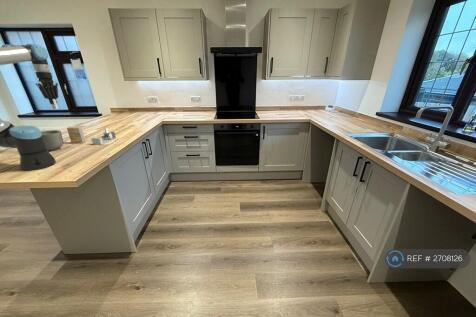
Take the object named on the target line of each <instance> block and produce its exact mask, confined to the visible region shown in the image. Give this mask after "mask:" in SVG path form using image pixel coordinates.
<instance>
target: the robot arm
mask: <svg viewBox="0 0 476 317" xmlns="http://www.w3.org/2000/svg"><path fill="white" fill-rule="evenodd" d="M48 59H49V53H48V50H47V49H46V48H45V47H44V46H42V45H40V44H35V43H26V44H23V45H20V44H19V45H17V44H16V45H14V44H2V45H1V46H0V66H3V65H4V66H5V65H12V64H18V63H25V62H31V64H32V68H33V70H34V71H35V75H36V78H37V79H38V82H36V83H35V86H37V88H38V89H39V91H40V92H41V95H42V96H43V97H44V99H47V100H48V101H49V104H50V105H51V108H52V110H59V106H58V101H57V99H58V98H59V88H58V85H59V83H58V82H55V81H54V80H53V78H54V77H53V75H52V72H51V68H50V66H49V62H48ZM41 132H42V131H41V130H40V128H38V126H34V125H16V126H15V125H14V124H13V123H12V122H10V121H7V120H3V119H1V118H0V147H1V148H5V149H7V148H8V149H9V148H10V149H17V152H18V154H19V156H20V157H19V167H20V169H21V171H25V170H26V171H37V170H41V169H46V168H48V167H51V166H53V165H55V164H56V163H57V162H56V159H55V157H54V156H53V155H52V154H51V152H50V151H48V150H47V148H46V145H45V142H44V140H43V137H42V133H41Z"/></svg>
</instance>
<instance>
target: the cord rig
mask: <svg viewBox="0 0 476 317" xmlns="http://www.w3.org/2000/svg"><path fill="white" fill-rule="evenodd" d="M109 132H111V133H112V137H113V138H111V139H105V138H106V137H108V134H107V135H104V134H103V135H102V136H99V137H95V136H94V137H92V138H91V142H92V144H91V145H94V146H97V145H98V146H102V145H104V144H108V143H110V142H112V141H114V139H115V140H117V139H116V138H117V137H116V132H115V131H109ZM109 141H110V142H109Z"/></svg>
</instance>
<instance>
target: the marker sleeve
mask: <svg viewBox="0 0 476 317" xmlns="http://www.w3.org/2000/svg"><path fill="white" fill-rule="evenodd" d="M103 129H104V132H102V133H103V136H104V135H107V134H108V137H106V138H104V139H111V138H113V137H112V133H111V132H112V131H111V132H110V131H109V127H108V126H107V127H105V128H103Z"/></svg>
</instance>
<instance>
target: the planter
mask: <svg viewBox="0 0 476 317" xmlns="http://www.w3.org/2000/svg"><path fill="white" fill-rule="evenodd" d="M40 132H41V133H42V137H43V140H44V142H45V145H46V148H47V150H48V152H55V151H59V150H60V149H61V148H62V147H63V145H64V138H63V135H62V134H63V133H62V131H61V130H57V129H54V130H53V129H52V130H43V131H40Z"/></svg>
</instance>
